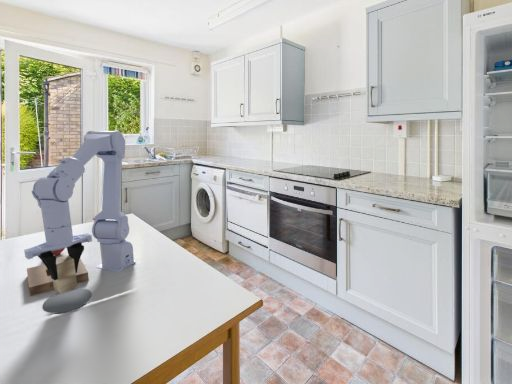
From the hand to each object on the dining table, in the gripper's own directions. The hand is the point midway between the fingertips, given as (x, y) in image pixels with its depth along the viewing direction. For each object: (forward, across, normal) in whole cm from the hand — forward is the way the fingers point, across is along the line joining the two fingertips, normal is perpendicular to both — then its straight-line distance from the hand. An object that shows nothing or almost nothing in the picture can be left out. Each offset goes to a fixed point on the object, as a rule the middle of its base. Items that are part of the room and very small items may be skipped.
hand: (64, 275), depth 77 cm
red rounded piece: (+8, -10, -34) cm, 37 cm away
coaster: (+8, 0, 0) cm, 8 cm away
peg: (+4, 0, 0) cm, 4 cm away
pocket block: (+8, -3, -15) cm, 17 cm away
